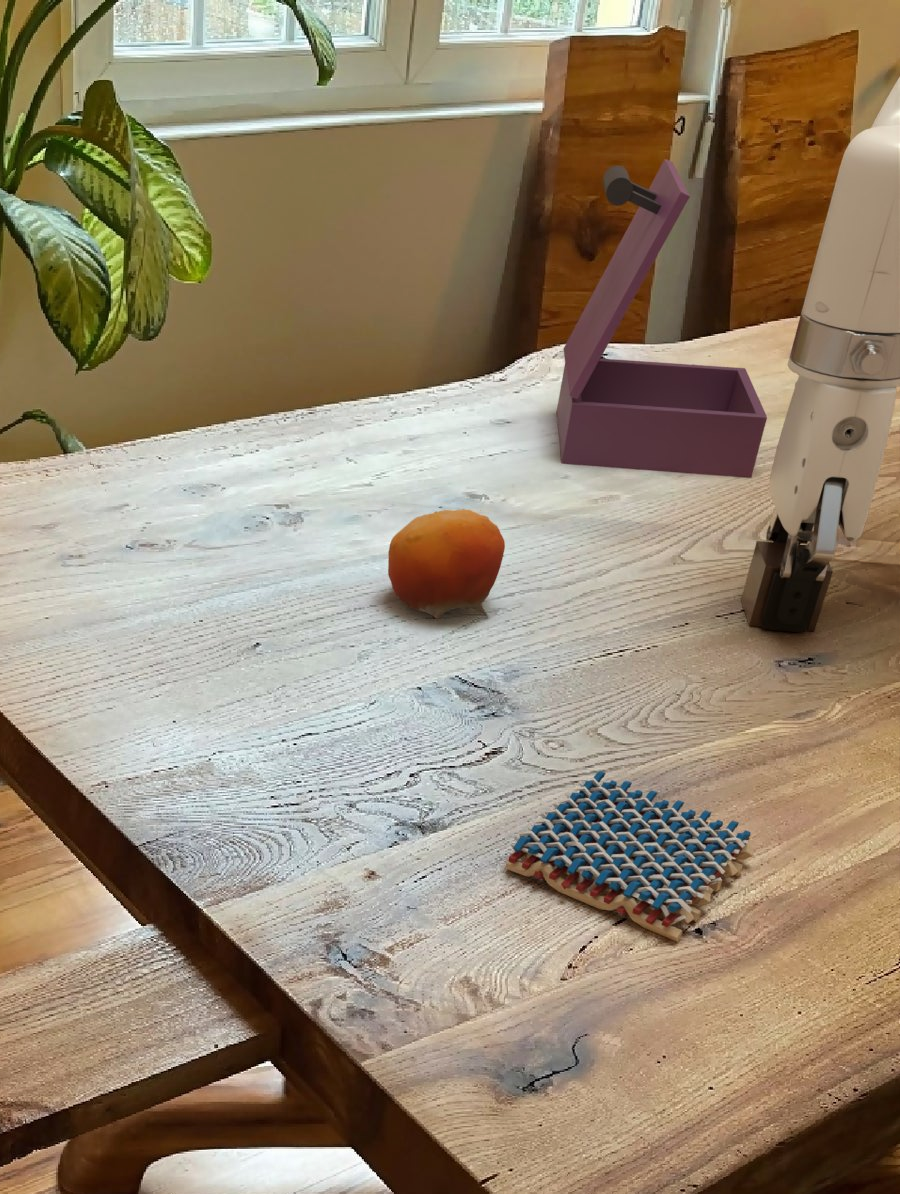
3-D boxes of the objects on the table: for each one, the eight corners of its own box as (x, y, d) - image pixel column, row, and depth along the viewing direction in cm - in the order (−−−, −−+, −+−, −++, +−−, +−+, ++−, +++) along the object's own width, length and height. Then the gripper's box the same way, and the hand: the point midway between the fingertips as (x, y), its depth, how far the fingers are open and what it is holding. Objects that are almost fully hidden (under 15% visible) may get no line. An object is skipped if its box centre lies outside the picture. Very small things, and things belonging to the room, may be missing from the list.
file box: (726, 445, 134) (745, 368, 130) (745, 499, 124) (767, 417, 119) (552, 432, 136) (566, 356, 132) (557, 484, 126) (572, 403, 121)
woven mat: (493, 872, 80) (498, 841, 78) (584, 794, 86) (591, 763, 85) (673, 949, 74) (682, 917, 73) (756, 860, 81) (766, 829, 80)
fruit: (437, 626, 100) (418, 506, 99) (381, 640, 107) (363, 528, 106) (537, 607, 103) (519, 491, 101) (475, 622, 110) (458, 514, 109)
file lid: (673, 162, 121) (616, 135, 121) (690, 196, 111) (627, 166, 110) (571, 352, 132) (517, 328, 131) (577, 399, 121) (519, 373, 121)
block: (804, 605, 107) (822, 545, 104) (814, 631, 104) (833, 571, 101) (740, 599, 108) (756, 540, 105) (748, 626, 104) (765, 565, 102)
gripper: (947, 393, 87) (854, 671, 99) (888, 317, 100) (812, 570, 112) (816, 384, 88) (738, 661, 100) (774, 310, 101) (710, 562, 113)
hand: (778, 610), depth 106 cm, fingers closed on block, 4 cm apart
